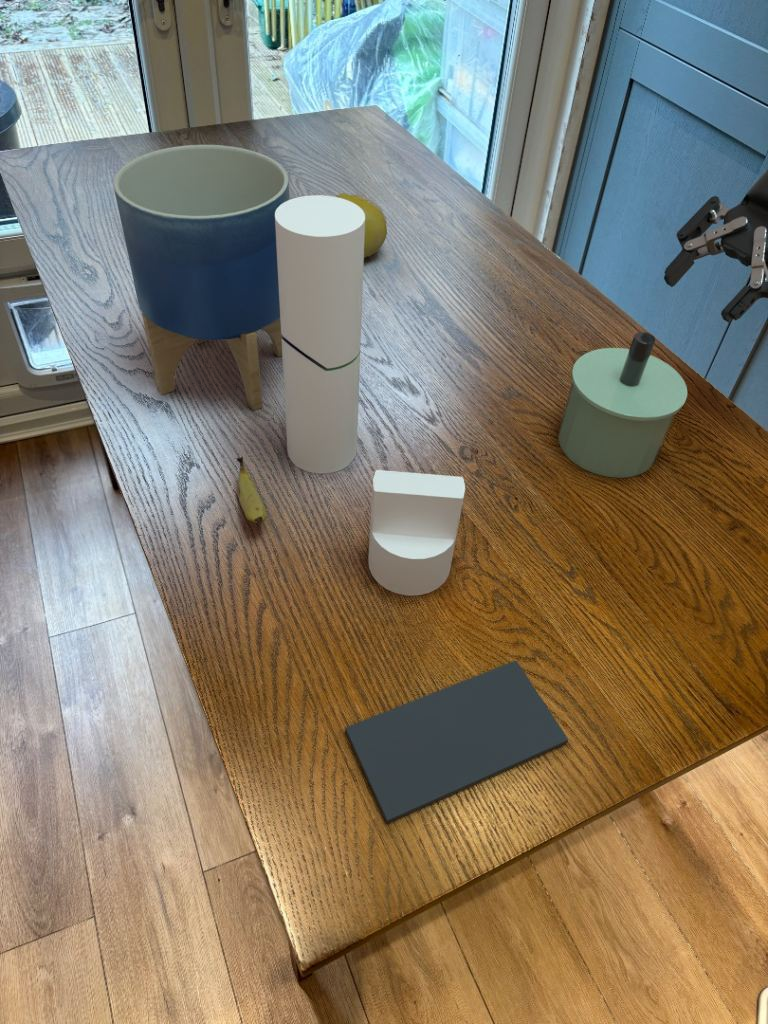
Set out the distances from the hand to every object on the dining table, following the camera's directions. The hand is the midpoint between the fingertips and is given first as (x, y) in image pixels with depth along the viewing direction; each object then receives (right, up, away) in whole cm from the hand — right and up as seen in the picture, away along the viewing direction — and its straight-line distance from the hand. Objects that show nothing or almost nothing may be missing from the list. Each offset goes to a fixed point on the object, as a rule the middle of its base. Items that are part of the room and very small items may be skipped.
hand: (695, 300), depth 86 cm
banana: (-51, -24, 0) cm, 56 cm away
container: (-43, -17, +7) cm, 47 cm away
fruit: (-41, +19, +42) cm, 61 cm away
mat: (-29, -45, -18) cm, 56 cm away
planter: (-57, -5, +17) cm, 60 cm away
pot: (-7, -15, +11) cm, 20 cm away
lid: (-6, -9, +4) cm, 12 cm away
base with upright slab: (-33, -30, -4) cm, 45 cm away
